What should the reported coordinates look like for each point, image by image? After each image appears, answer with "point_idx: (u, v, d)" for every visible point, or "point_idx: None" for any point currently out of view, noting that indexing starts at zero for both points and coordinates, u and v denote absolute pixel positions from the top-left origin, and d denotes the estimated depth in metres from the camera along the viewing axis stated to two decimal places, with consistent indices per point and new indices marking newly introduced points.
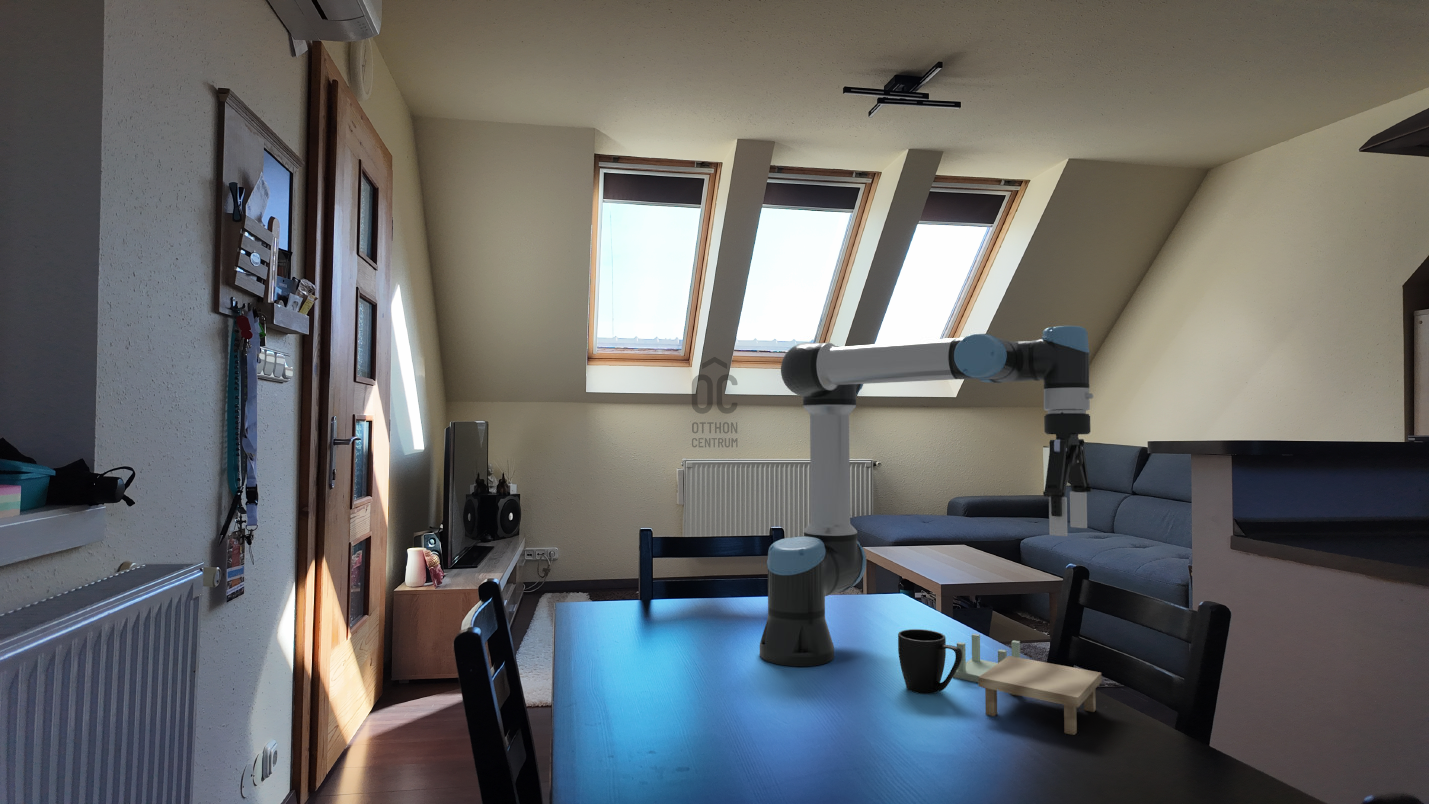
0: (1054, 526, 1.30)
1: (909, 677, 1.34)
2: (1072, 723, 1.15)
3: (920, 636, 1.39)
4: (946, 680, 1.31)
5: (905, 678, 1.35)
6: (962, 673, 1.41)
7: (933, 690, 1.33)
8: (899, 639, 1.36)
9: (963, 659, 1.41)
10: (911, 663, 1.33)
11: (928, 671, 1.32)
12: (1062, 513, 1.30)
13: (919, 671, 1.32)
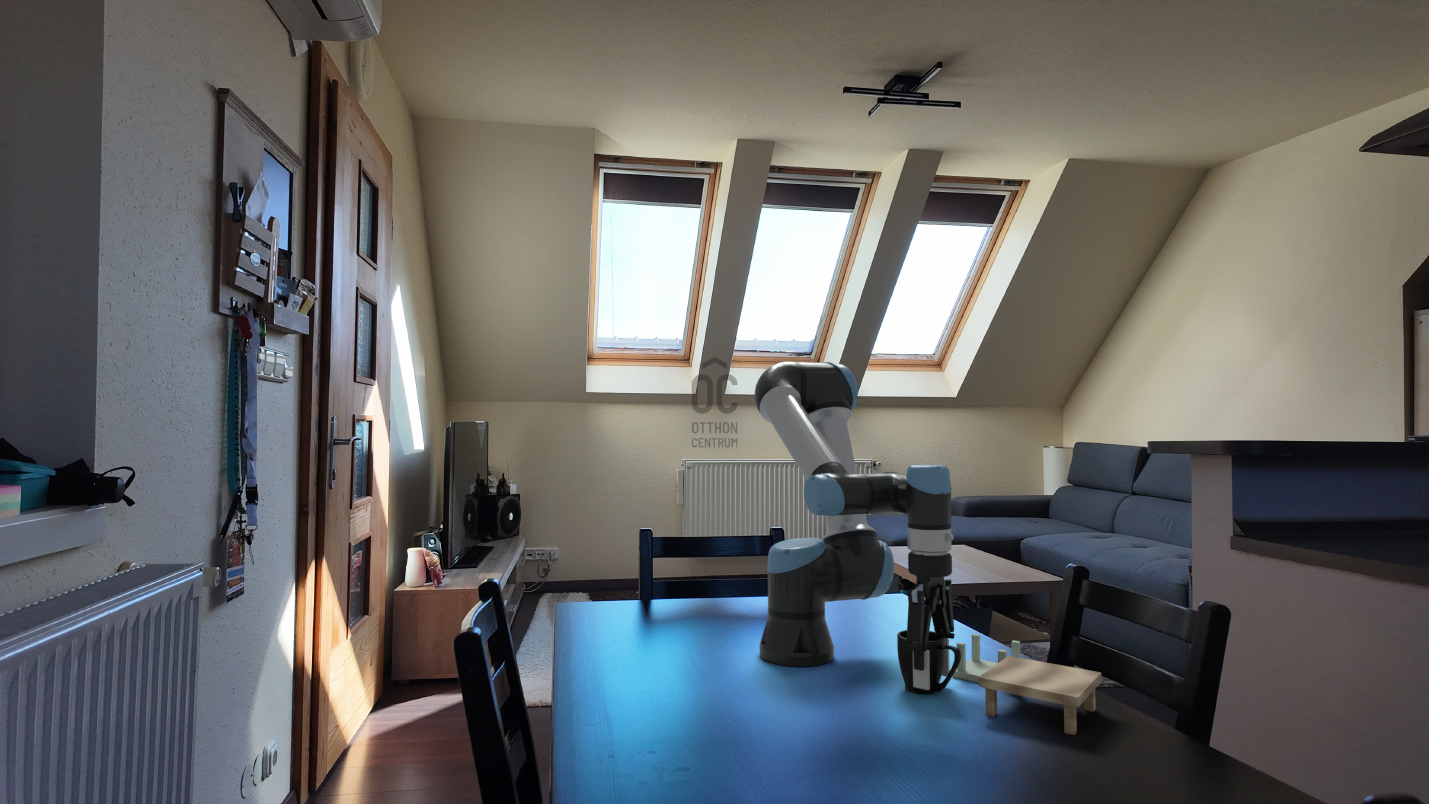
0: (917, 678, 1.31)
1: (908, 677, 1.33)
2: (1072, 723, 1.15)
3: None
4: (945, 680, 1.31)
5: (904, 678, 1.35)
6: (962, 673, 1.41)
7: (932, 690, 1.33)
8: (898, 639, 1.35)
9: (963, 659, 1.41)
10: (910, 663, 1.33)
11: None
12: (924, 666, 1.30)
13: None
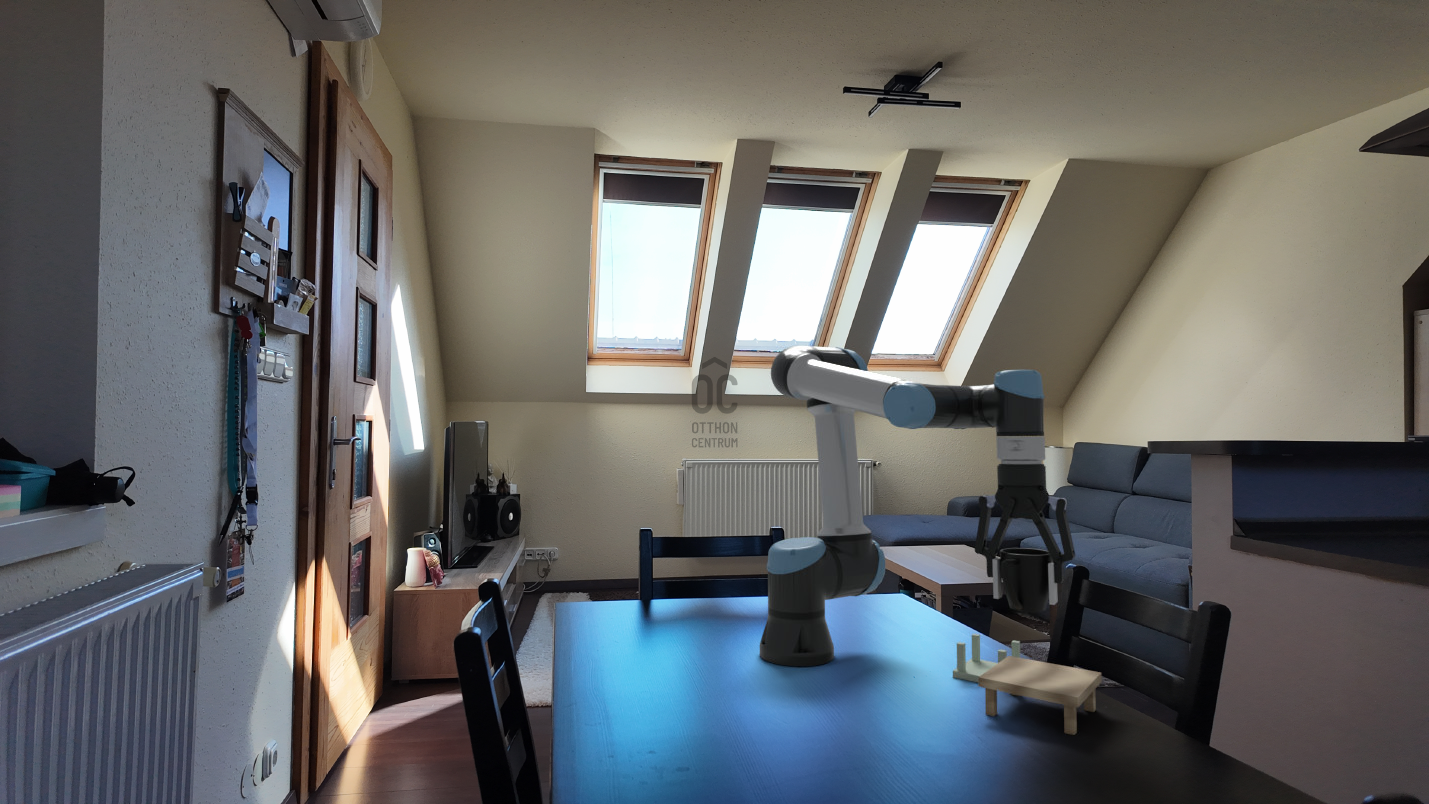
0: None
1: None
2: (1072, 723, 1.15)
3: None
4: (1008, 594, 1.24)
5: None
6: (962, 673, 1.41)
7: None
8: None
9: (963, 659, 1.41)
10: None
11: None
12: (993, 574, 1.28)
13: None
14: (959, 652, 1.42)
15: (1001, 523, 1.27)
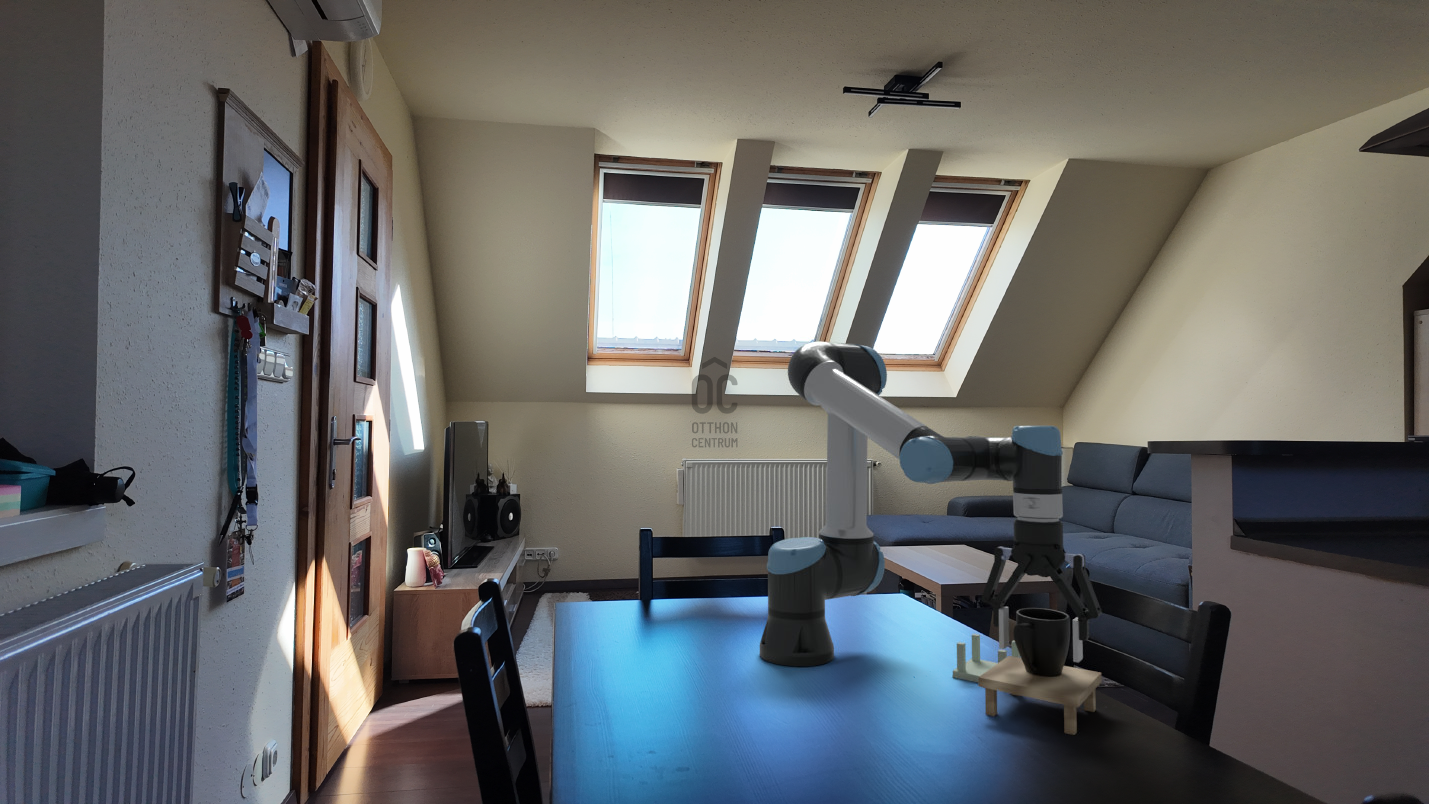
0: None
1: None
2: (1072, 723, 1.15)
3: None
4: (1021, 658, 1.23)
5: None
6: (962, 673, 1.41)
7: None
8: None
9: (963, 659, 1.41)
10: None
11: None
12: (999, 624, 1.28)
13: None
14: (959, 652, 1.42)
15: (1013, 577, 1.26)
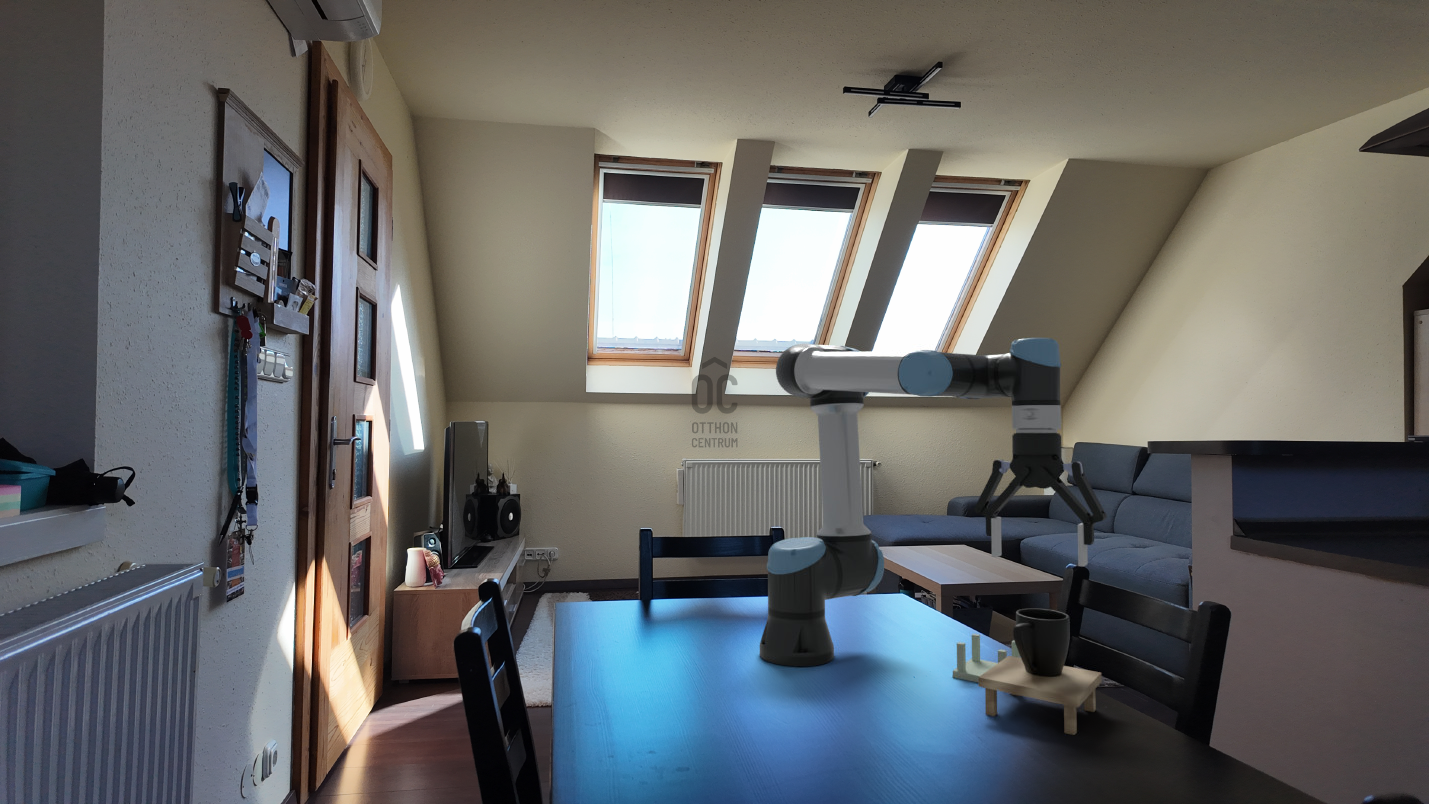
0: None
1: None
2: (1072, 723, 1.15)
3: None
4: (1021, 658, 1.23)
5: None
6: (962, 673, 1.41)
7: None
8: None
9: (963, 659, 1.41)
10: None
11: None
12: None
13: None
14: (959, 652, 1.42)
15: (1009, 488, 1.27)
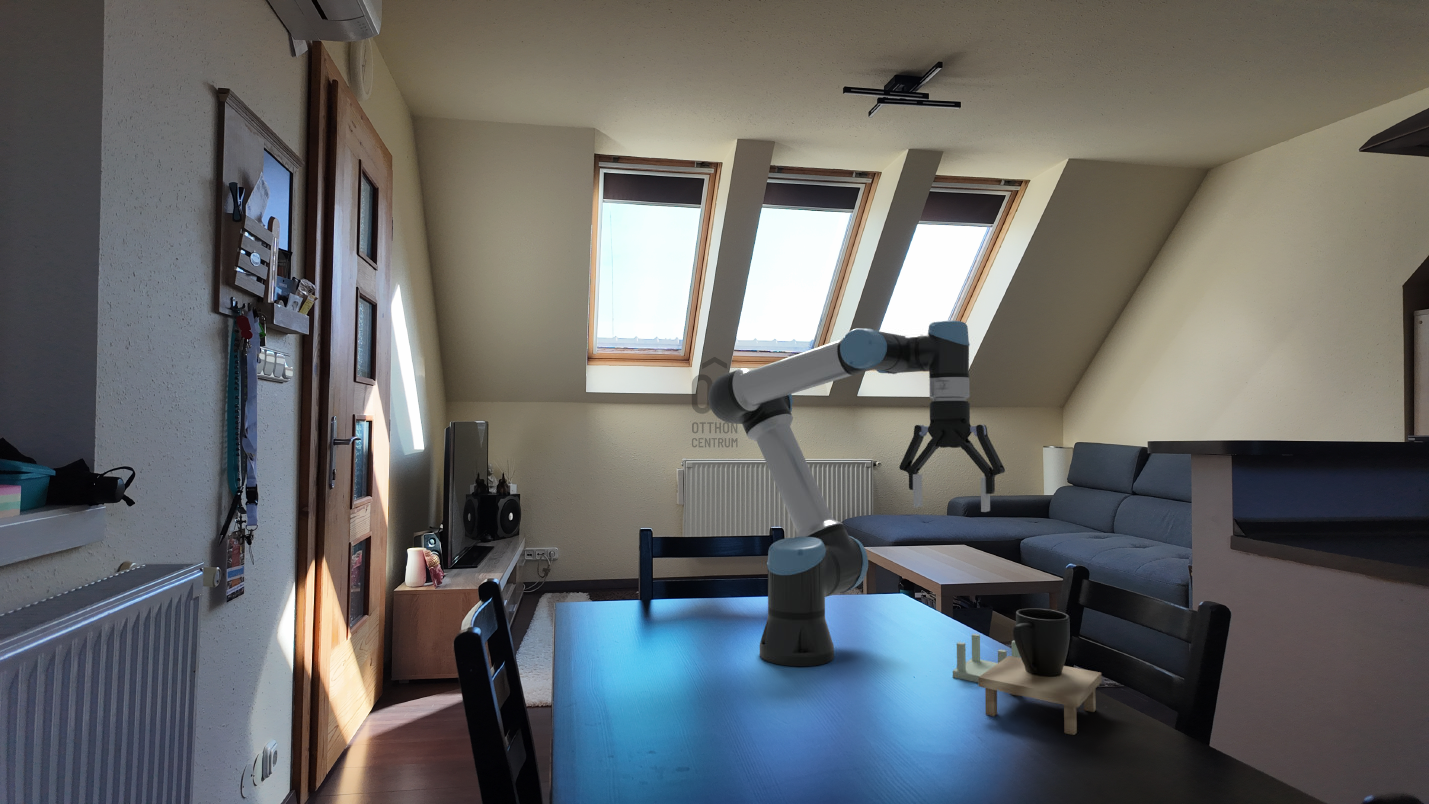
0: None
1: None
2: (1072, 723, 1.15)
3: None
4: (1021, 658, 1.23)
5: None
6: (962, 673, 1.41)
7: None
8: None
9: (963, 659, 1.41)
10: None
11: None
12: None
13: None
14: (959, 652, 1.42)
15: (927, 448, 1.50)
